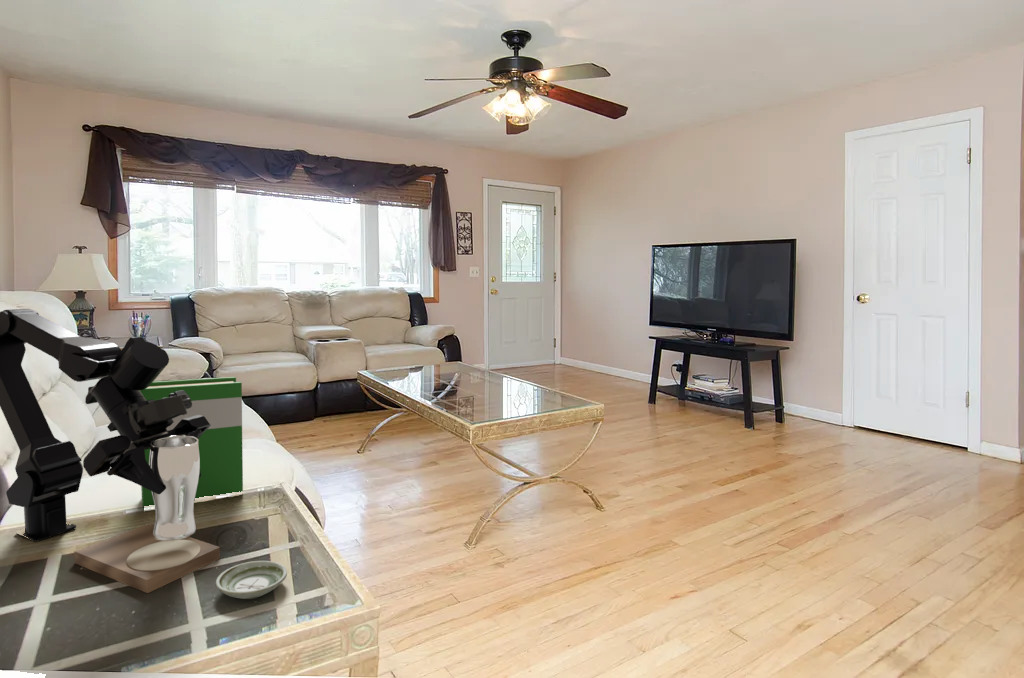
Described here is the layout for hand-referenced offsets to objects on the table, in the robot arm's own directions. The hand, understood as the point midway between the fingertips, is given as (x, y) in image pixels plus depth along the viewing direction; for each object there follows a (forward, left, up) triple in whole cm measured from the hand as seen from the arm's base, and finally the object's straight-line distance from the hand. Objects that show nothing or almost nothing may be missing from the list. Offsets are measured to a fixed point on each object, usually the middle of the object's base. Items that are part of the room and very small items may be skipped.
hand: (180, 485), depth 92 cm
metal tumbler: (-1, 0, -8) cm, 8 cm away
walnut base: (-6, -2, -13) cm, 14 cm away
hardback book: (-24, +19, -13) cm, 33 cm away
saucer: (+15, 0, -14) cm, 20 cm away
